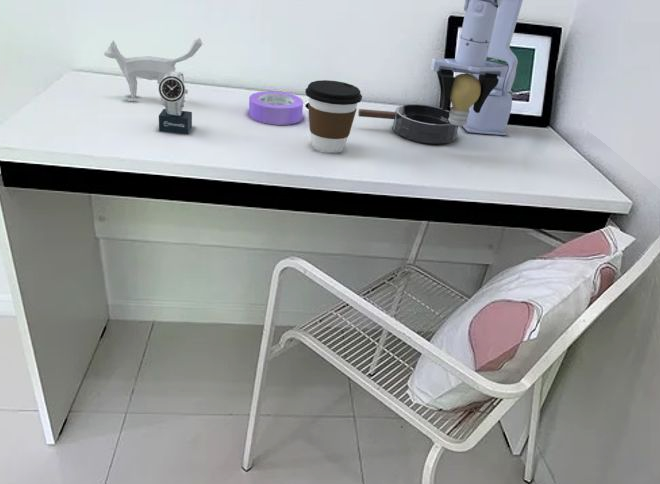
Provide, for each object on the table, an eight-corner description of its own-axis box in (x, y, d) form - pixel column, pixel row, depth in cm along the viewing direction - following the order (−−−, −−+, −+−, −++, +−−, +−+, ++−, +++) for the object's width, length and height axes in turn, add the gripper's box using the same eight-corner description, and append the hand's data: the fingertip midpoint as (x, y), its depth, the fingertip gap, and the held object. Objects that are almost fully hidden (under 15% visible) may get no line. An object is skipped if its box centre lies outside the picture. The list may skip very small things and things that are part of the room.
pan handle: (393, 118, 140) (394, 110, 139) (394, 120, 138) (396, 113, 138) (357, 115, 138) (358, 107, 138) (358, 117, 137) (359, 110, 136)
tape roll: (261, 126, 133) (262, 108, 131) (240, 108, 141) (241, 91, 139) (310, 123, 138) (312, 106, 136) (288, 106, 147) (289, 90, 145)
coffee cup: (328, 134, 134) (335, 77, 127) (366, 152, 128) (374, 92, 121) (289, 143, 127) (294, 82, 120) (326, 161, 121) (333, 99, 114)
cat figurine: (109, 93, 139) (104, 26, 131) (203, 101, 142) (203, 36, 135) (106, 100, 135) (100, 30, 128) (201, 107, 139) (202, 40, 131)
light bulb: (465, 132, 125) (477, 80, 119) (436, 123, 127) (446, 72, 122) (477, 125, 130) (488, 75, 124) (448, 116, 132) (459, 67, 127)
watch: (156, 134, 122) (154, 76, 116) (166, 121, 129) (164, 65, 123) (186, 137, 122) (185, 80, 117) (194, 124, 129) (193, 69, 123)
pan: (446, 125, 149) (450, 107, 146) (463, 147, 137) (467, 127, 135) (387, 121, 147) (390, 101, 144) (399, 142, 135) (402, 122, 132)
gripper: (443, 40, 115) (429, 113, 122) (518, 47, 118) (500, 119, 125) (434, 31, 121) (421, 102, 128) (506, 39, 123) (489, 108, 131)
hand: (459, 110), depth 127 cm, fingers closed on light bulb, 6 cm apart
